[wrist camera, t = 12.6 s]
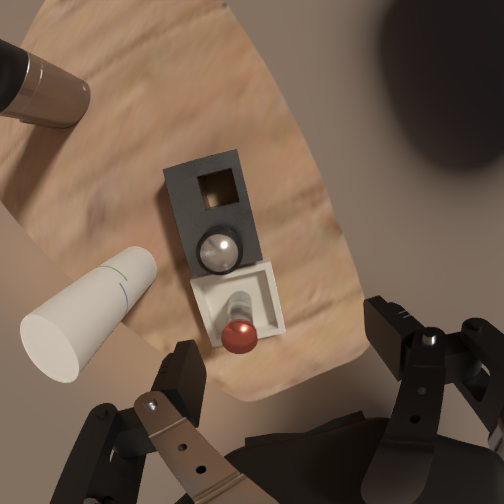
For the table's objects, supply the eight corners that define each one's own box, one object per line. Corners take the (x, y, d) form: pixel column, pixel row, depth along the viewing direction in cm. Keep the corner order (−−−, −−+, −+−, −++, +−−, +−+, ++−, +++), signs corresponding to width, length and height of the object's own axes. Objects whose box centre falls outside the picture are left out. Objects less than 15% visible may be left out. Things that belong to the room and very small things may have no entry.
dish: (214, 338, 46) (212, 347, 43) (193, 273, 43) (189, 279, 40) (283, 323, 45) (286, 332, 42) (268, 255, 42) (270, 261, 39)
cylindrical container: (129, 293, 43) (48, 385, 19) (110, 255, 42) (10, 323, 17) (164, 280, 43) (93, 378, 19) (145, 239, 41) (48, 305, 17)
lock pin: (230, 316, 44) (226, 356, 33) (223, 291, 43) (216, 327, 32) (257, 310, 44) (261, 350, 33) (250, 285, 43) (253, 320, 32)
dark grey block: (197, 265, 42) (187, 284, 34) (172, 170, 39) (155, 168, 31) (260, 251, 42) (264, 267, 34) (237, 153, 38) (235, 145, 31)
